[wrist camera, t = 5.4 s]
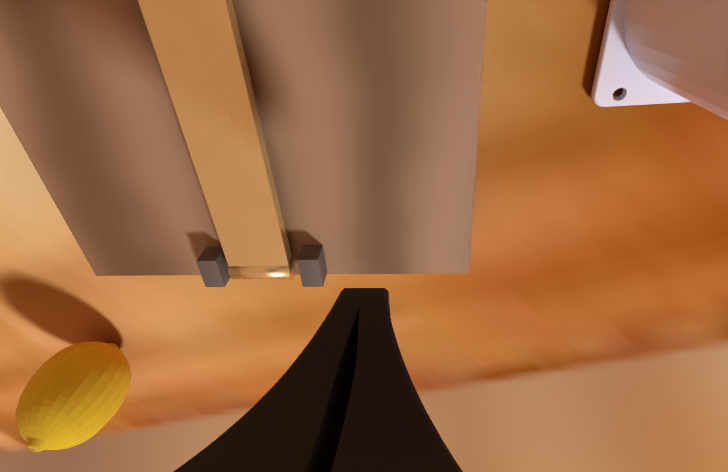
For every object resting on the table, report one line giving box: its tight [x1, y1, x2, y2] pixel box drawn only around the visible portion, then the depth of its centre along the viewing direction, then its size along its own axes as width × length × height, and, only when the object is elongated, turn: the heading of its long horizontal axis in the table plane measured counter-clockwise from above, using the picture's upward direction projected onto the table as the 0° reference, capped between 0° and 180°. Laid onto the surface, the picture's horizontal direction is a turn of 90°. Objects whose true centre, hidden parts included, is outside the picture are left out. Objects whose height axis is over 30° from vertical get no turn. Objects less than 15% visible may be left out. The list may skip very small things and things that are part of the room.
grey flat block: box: [0, 0, 487, 287], centre depth 18 cm, size 20×15×5 cm
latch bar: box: [138, 0, 295, 279], centre depth 17 cm, size 3×12×1 cm, turn 5°
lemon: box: [15, 341, 131, 452], centre depth 27 cm, size 6×6×8 cm
